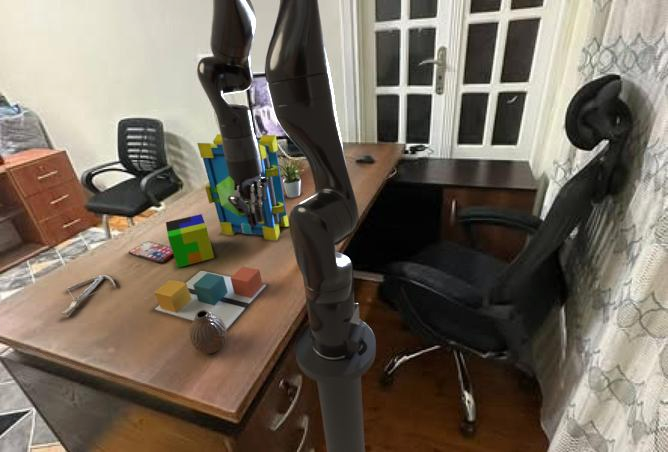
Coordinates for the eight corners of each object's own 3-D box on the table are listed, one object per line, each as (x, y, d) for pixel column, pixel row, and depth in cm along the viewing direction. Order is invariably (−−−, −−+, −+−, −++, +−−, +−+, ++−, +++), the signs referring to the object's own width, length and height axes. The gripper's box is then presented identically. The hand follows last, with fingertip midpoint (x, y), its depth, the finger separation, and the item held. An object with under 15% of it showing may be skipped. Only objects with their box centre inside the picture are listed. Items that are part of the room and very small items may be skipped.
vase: (220, 360, 68) (209, 328, 64) (188, 358, 70) (175, 325, 65) (235, 334, 74) (225, 302, 70) (205, 332, 76) (194, 300, 71)
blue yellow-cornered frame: (238, 217, 124) (218, 132, 109) (297, 223, 116) (284, 133, 102) (214, 237, 112) (188, 145, 98) (277, 245, 105) (259, 147, 90)
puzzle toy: (208, 242, 110) (201, 214, 105) (214, 257, 102) (206, 227, 97) (174, 251, 106) (165, 222, 101) (177, 267, 98) (168, 236, 93)
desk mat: (265, 285, 88) (265, 284, 88) (225, 330, 75) (225, 329, 75) (201, 271, 96) (201, 270, 96) (155, 309, 83) (154, 308, 83)
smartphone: (147, 240, 112) (180, 249, 105) (148, 243, 112) (181, 251, 106) (126, 251, 106) (159, 261, 100) (127, 254, 106) (160, 264, 100)
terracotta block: (263, 285, 88) (259, 269, 85) (251, 298, 84) (247, 281, 81) (246, 282, 90) (242, 266, 87) (234, 294, 86) (230, 277, 83)
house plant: (266, 201, 134) (258, 160, 126) (280, 187, 145) (274, 149, 138) (300, 203, 130) (294, 161, 122) (312, 189, 141) (308, 149, 133)
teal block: (228, 292, 86) (223, 276, 84) (214, 305, 82) (209, 289, 80) (212, 288, 88) (207, 272, 86) (198, 301, 84) (192, 284, 82)
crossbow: (82, 281, 97) (79, 275, 96) (127, 278, 97) (124, 271, 96) (39, 319, 83) (36, 312, 82) (92, 315, 83) (89, 308, 82)
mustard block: (192, 299, 85) (186, 283, 83) (176, 313, 81) (170, 296, 79) (176, 295, 87) (170, 279, 85) (160, 308, 83) (154, 292, 81)
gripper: (237, 166, 71) (253, 239, 79) (272, 146, 82) (283, 212, 90) (208, 163, 74) (226, 234, 82) (246, 145, 85) (259, 209, 93)
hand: (256, 222), depth 86 cm, fingers closed
